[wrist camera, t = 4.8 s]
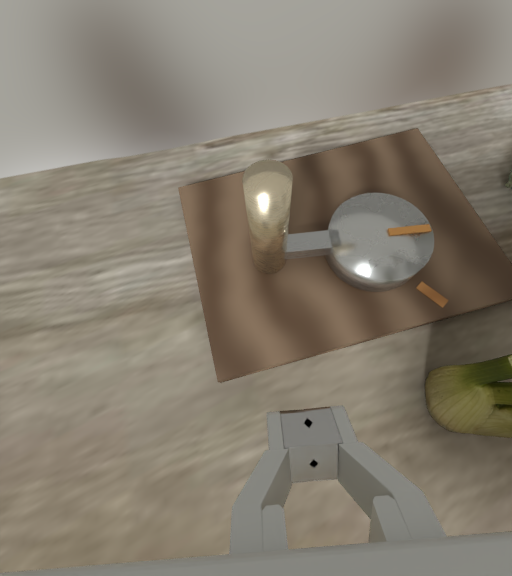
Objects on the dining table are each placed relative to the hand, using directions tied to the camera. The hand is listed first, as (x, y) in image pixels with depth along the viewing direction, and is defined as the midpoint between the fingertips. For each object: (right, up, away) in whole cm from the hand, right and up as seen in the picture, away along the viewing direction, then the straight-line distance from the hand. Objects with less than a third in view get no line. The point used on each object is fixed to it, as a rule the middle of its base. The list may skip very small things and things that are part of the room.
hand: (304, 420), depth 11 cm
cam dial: (+7, +9, +20) cm, 23 cm away
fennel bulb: (+16, -5, +15) cm, 23 cm away
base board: (+7, +11, +22) cm, 25 cm away
